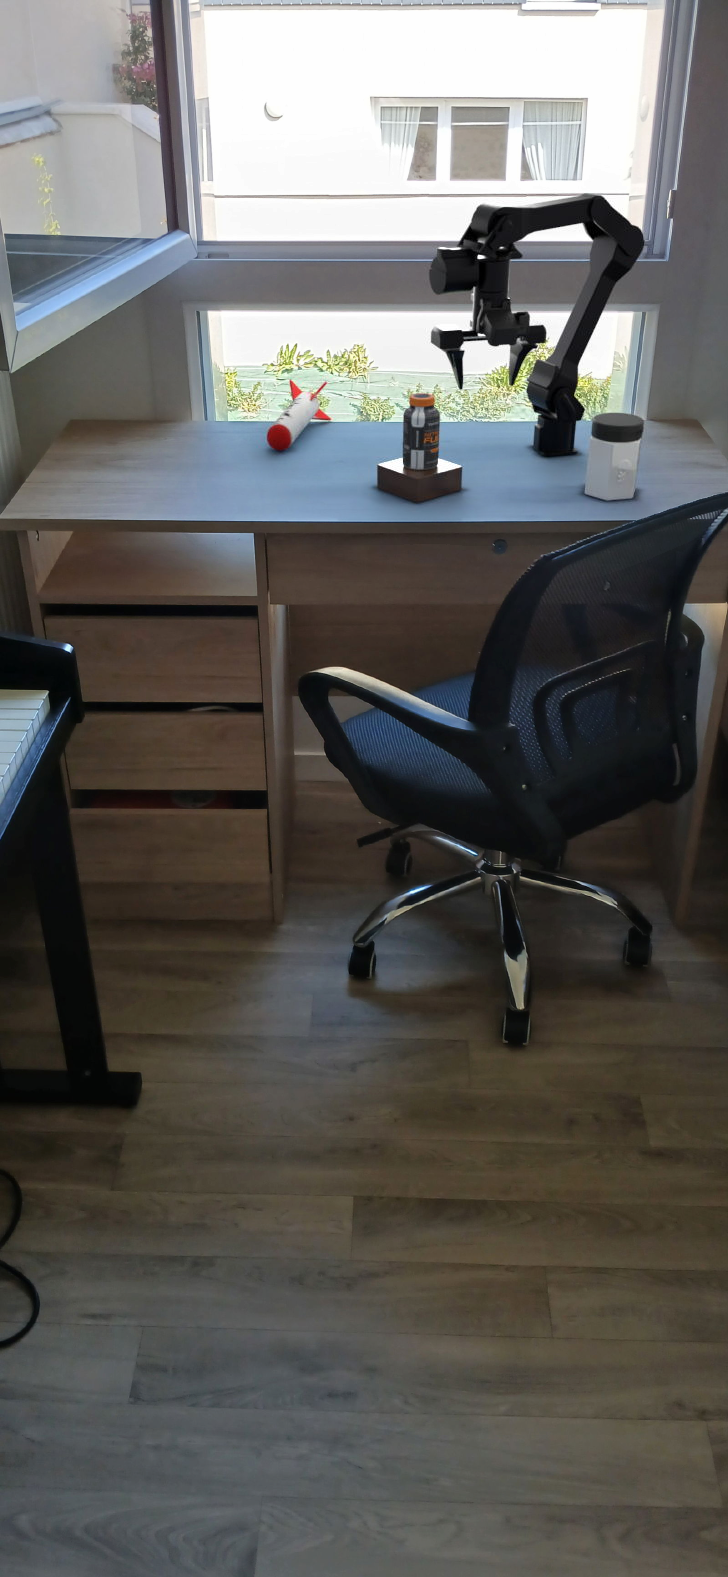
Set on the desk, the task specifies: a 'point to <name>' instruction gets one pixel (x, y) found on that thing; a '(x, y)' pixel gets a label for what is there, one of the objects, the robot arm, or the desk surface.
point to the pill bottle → (421, 433)
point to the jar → (614, 456)
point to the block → (419, 480)
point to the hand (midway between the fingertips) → (485, 386)
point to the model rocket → (295, 418)
